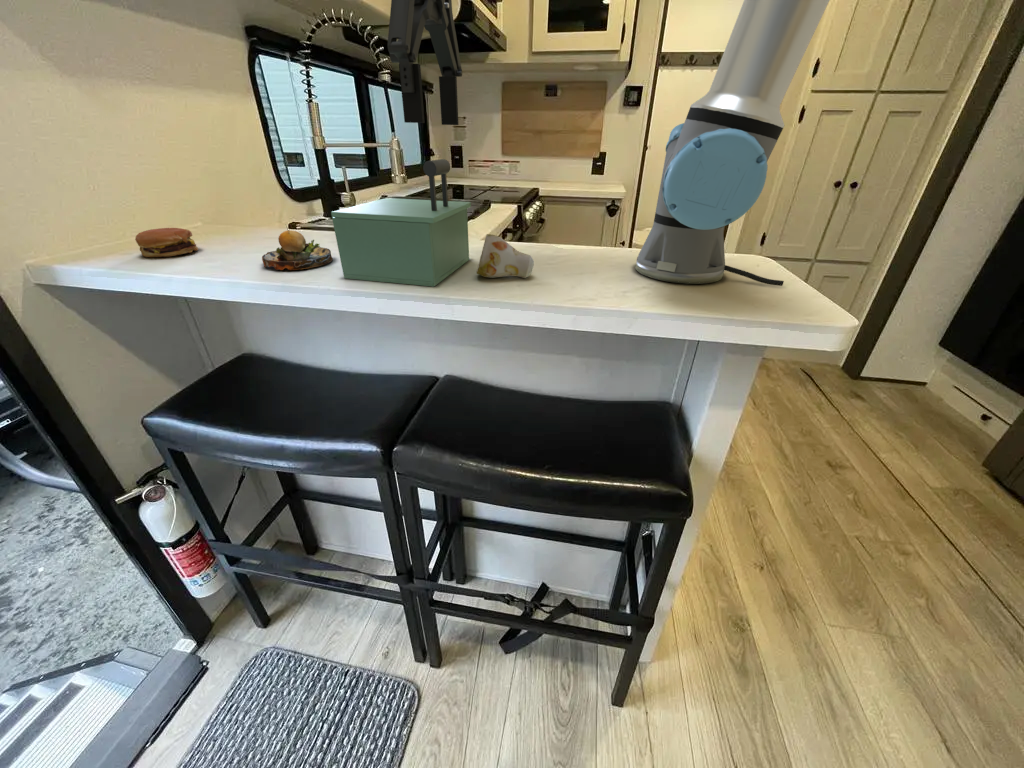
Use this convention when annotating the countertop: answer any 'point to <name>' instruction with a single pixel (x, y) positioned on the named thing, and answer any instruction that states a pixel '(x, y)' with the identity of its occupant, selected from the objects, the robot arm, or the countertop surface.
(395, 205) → the cool box lid
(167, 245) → the burger
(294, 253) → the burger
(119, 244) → the countertop surface
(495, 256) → the mug
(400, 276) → the cool box
